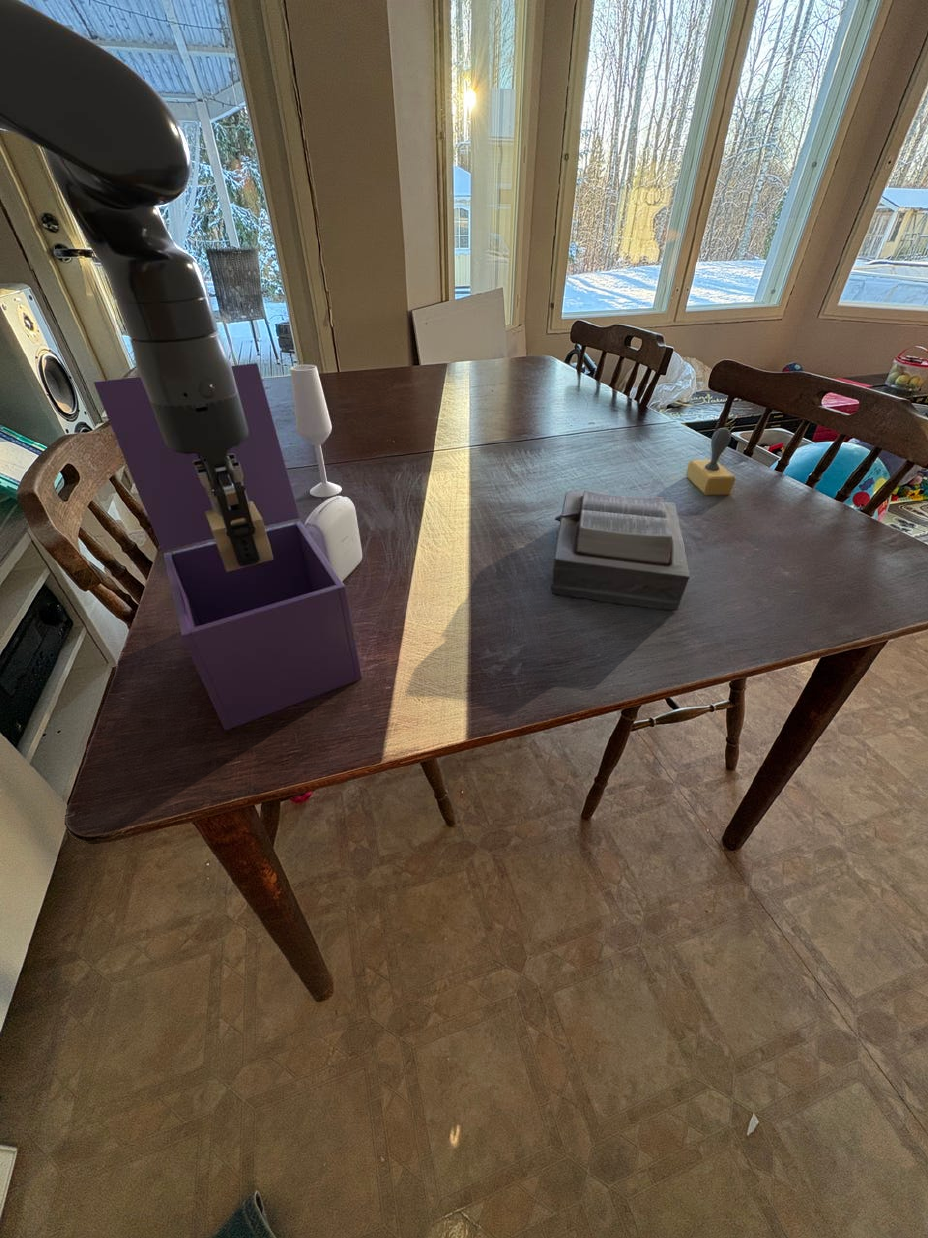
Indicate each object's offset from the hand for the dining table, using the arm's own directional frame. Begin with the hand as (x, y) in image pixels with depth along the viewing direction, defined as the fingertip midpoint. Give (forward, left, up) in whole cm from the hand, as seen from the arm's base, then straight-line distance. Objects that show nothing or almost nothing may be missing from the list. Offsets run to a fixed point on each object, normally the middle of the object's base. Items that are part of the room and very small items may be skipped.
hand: (244, 550), depth 57 cm
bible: (+55, -4, -17) cm, 58 cm away
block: (0, 0, -1) cm, 1 cm away
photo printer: (+14, +16, -17) cm, 27 cm away
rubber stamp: (+94, +9, -17) cm, 96 cm away
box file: (0, 0, -17) cm, 17 cm away
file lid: (0, +11, +7) cm, 13 cm away
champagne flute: (+22, +48, -17) cm, 55 cm away
